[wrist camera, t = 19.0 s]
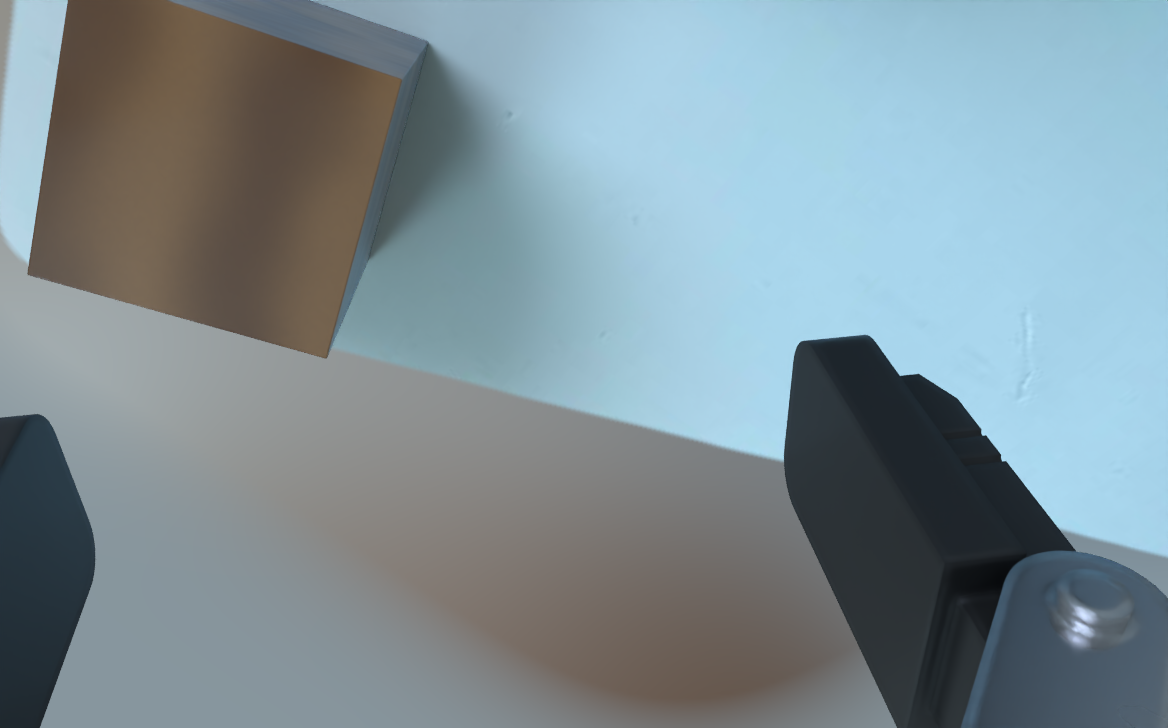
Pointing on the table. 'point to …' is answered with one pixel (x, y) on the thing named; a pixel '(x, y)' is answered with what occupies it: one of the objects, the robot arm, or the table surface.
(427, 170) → the table surface
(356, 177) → the brown box
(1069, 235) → the table surface
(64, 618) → the robot arm
